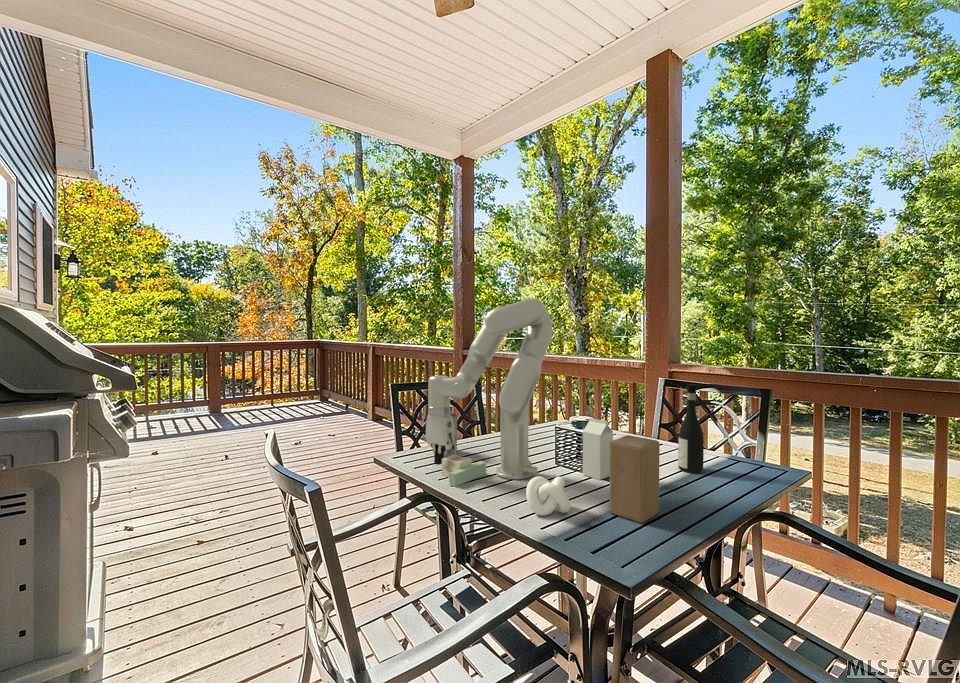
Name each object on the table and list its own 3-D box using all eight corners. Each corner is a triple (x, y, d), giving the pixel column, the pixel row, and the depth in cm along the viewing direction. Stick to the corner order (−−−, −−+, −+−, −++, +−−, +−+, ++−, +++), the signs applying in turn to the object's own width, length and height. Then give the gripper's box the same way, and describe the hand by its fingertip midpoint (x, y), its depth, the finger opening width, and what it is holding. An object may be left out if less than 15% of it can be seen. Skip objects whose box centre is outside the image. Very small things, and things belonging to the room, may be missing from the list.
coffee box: (434, 451, 186) (434, 411, 185) (449, 449, 188) (448, 410, 188) (442, 456, 177) (441, 415, 177) (457, 454, 180) (457, 414, 179)
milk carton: (600, 480, 150) (600, 422, 149) (582, 475, 155) (582, 419, 155) (613, 475, 154) (613, 419, 154) (595, 470, 160) (595, 416, 159)
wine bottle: (680, 472, 157) (681, 385, 156) (676, 465, 165) (677, 382, 163) (705, 474, 155) (707, 386, 154) (700, 467, 163) (701, 383, 162)
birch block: (471, 476, 155) (471, 458, 155) (459, 481, 150) (459, 463, 150) (453, 471, 160) (453, 454, 160) (441, 476, 155) (441, 458, 155)
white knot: (533, 499, 134) (533, 469, 134) (575, 505, 130) (575, 474, 129) (523, 515, 123) (523, 482, 123) (567, 521, 119) (567, 487, 119)
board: (486, 473, 157) (486, 462, 157) (454, 486, 145) (454, 474, 145) (480, 472, 159) (480, 460, 158) (449, 485, 146) (449, 472, 146)
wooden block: (607, 513, 124) (608, 440, 123) (625, 503, 131) (626, 433, 130) (643, 525, 117) (643, 447, 116) (660, 513, 124) (661, 440, 123)
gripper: (462, 412, 157) (462, 465, 158) (431, 407, 167) (431, 457, 167) (447, 415, 151) (447, 470, 152) (416, 410, 161) (416, 462, 161)
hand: (439, 463), depth 160 cm, fingers closed
